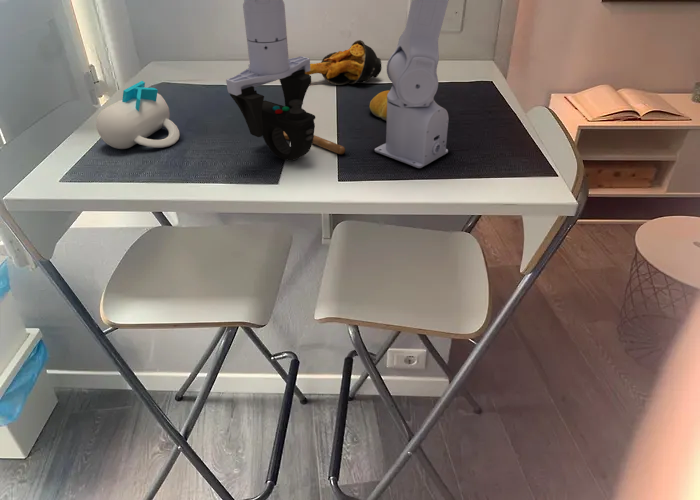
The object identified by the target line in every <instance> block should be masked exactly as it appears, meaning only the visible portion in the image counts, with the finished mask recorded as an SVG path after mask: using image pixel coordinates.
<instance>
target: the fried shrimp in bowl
mask: <svg viewBox="0 0 700 500" xmlns="http://www.w3.org/2000/svg"><path fill="white" fill-rule="evenodd" d="M382 68H383V67H382V60H381V58H380V57H378V56H377V54H376V52H375V50H374V49H373V48H372V47H370V46H368V45H367V44H365V42H364V41H363V40H361V39H358V40H355V41H354V42H353V43H352V44H351V45H350V47H349V49H345V50H343V51H342V50H339V51H337V52H336V51H335V52H331V53H329V54H327V55H326V56H324V57H323V58H322V59H321V62H316V63H310V71H308V72H305V74H308V75H310V76H311V75H315V74H321V76H322V77H323V79H325V80H326V81H327V82H328V83H329V84H332V85H335V86H344V85H348V84H350V85H356V84H359V83H360V84H361V83H366V82H368V81H369V80H371V79H372V78H377V77H378V76H379V75H380V74H381V72H382Z"/></svg>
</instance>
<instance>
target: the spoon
mask: <svg viewBox="0 0 700 500" xmlns="http://www.w3.org/2000/svg"><path fill="white" fill-rule="evenodd" d="M283 133H284V137H285V139H286V141H290V139H289V137H288V136H287V134H286V133H285V132H284V131H283ZM312 145H316V146H317V147H321V148H323V149H325V150H327V151H330V152H333V153H335V154H338V155H344V154H345V152H346V148H345V146H343V145H340V144H339V143H335V142H333V141H332V140H331V141H330V140H327V139H325V138H322V137H320V136H318V135H316V134H314V138H313V143H312Z"/></svg>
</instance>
